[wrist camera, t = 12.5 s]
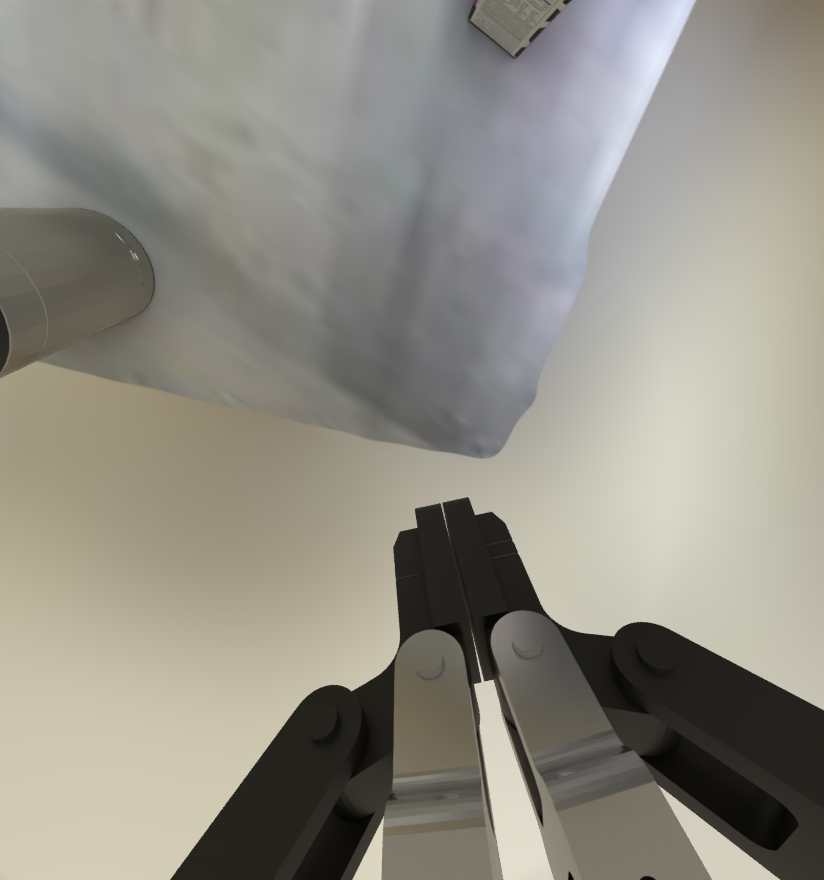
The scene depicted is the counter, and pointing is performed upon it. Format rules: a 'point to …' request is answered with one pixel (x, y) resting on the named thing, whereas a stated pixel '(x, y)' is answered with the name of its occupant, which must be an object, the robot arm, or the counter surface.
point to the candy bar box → (514, 20)
